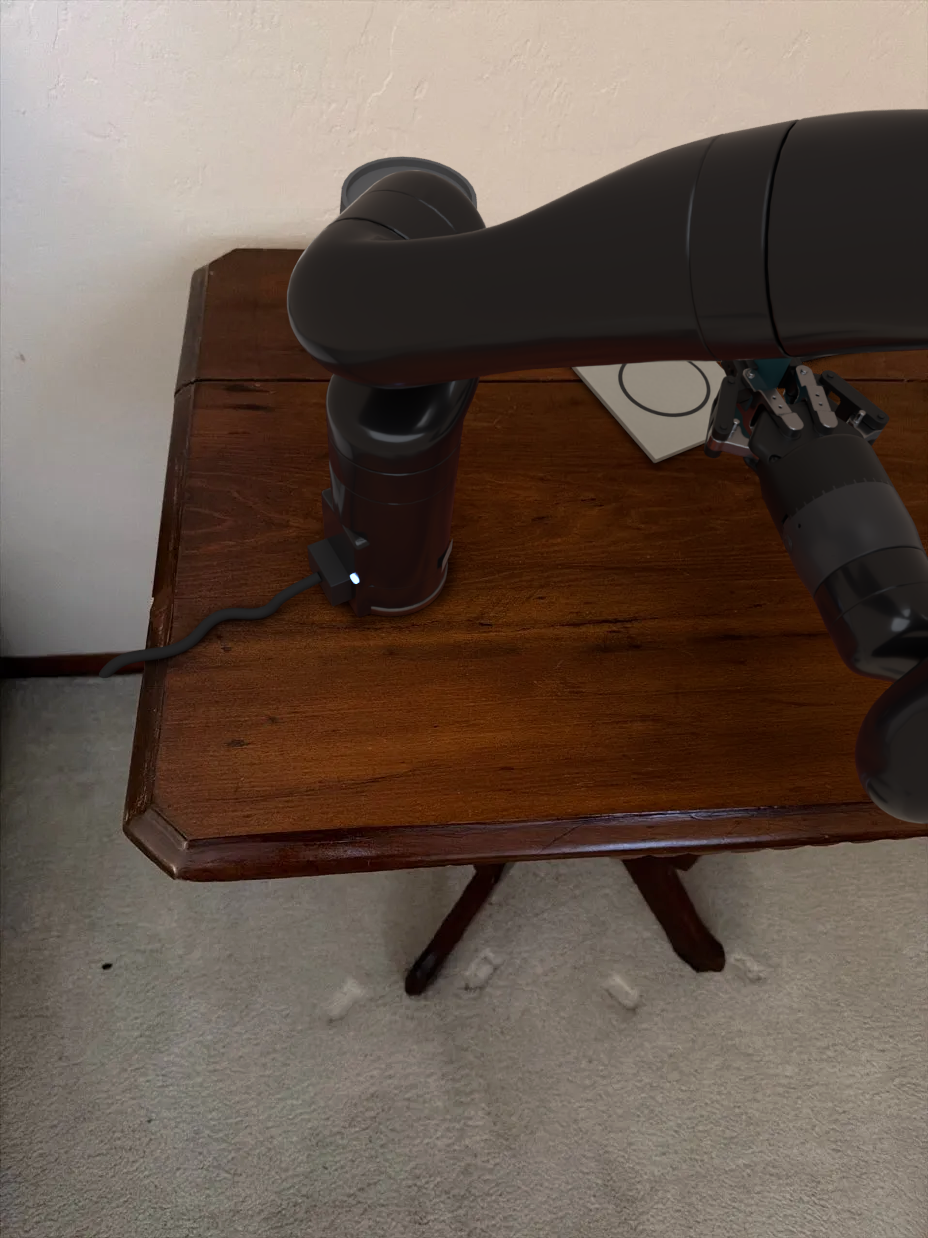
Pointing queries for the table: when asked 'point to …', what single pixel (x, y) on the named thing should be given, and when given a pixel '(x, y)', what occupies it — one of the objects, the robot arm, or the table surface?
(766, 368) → the marker
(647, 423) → the sketch pad
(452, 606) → the table surface
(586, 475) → the table surface
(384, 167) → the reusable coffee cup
